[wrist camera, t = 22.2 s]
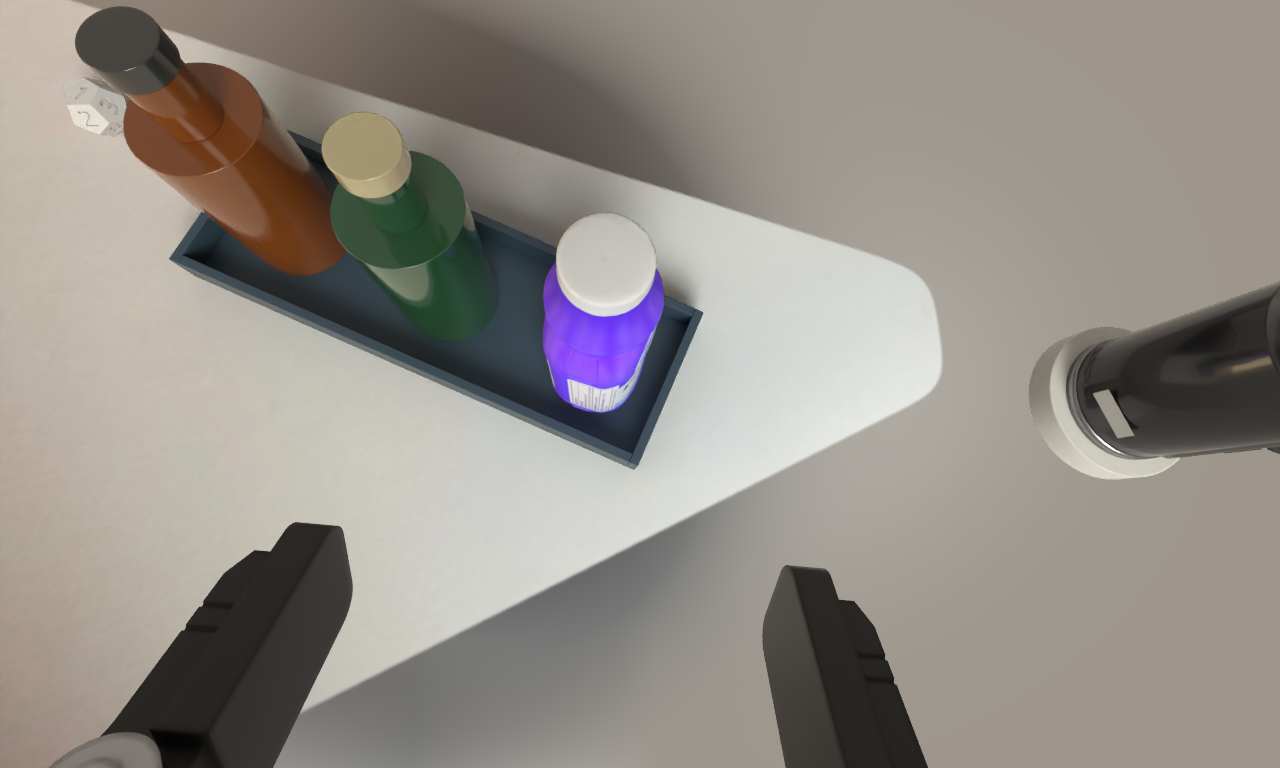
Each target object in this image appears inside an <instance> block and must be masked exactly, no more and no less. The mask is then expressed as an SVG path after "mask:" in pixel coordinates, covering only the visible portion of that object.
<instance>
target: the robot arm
mask: <svg viewBox="0 0 1280 768" xmlns="http://www.w3.org/2000/svg"><path fill="white" fill-rule="evenodd" d="M1066 395H1067V401H1068V405H1069V409H1070V412H1071V414H1072V416H1073V419H1074V421H1075V422H1076V424H1077V426H1078V427H1079V429H1080V430H1081V431H1082V433H1083V434H1084V435H1085V436H1086V437H1087V438H1088V439H1089V440H1090V441H1091V442H1092V443H1093V444H1094V445H1095V446H1097V447H1098V448H1100V449H1101V450H1103V451H1104V452H1106V453H1108V454H1110V455H1113V456H1115V457H1118V458H1122V459H1127V460H1143V459H1152V458H1157V457H1161V456H1162V457H1164V458H1166V459H1171V458H1180V457H1189V456H1198V455H1207V454H1216V453H1232V452H1241V451H1249V450H1259V449H1262V448H1267V449H1268V450H1270V451H1272V452H1275V453H1278V454H1280V282H1277V283H1274V284H1271V285H1269V286H1266V287H1263V288H1260V289H1257V290H1254V291H1251V292H1248V293H1246V294H1243V295H1240V296H1237V297H1234V298H1231V299H1228V300H1226V301H1223V302H1220V303H1217V304H1214V305H1211V306H1209V307H1206V308H1202V309H1200V310H1197V311H1194V312H1191V313H1188V314H1185V315H1182V316H1180V317H1177V318H1174V319H1171V320H1168V321H1165V322H1162V323H1159V324H1156V325H1153V326H1151V327H1148V328H1145V329H1142V330H1139V331H1136V332H1133V333H1130V334H1127V335H1125V336H1122V337H1119V338H1116V339H1111V340H1107V341H1104V342H1101V343H1098V344H1095V345H1093V346H1090V347H1088V348H1087V349H1085V350H1084V351H1083V352H1081V353H1080V354H1079V355H1078V356H1077V358H1076V359H1075V360H1074V362H1073V363H1072V365H1071V367H1070V370H1069V373H1068V376H1067V383H1066ZM352 590H353V584H352V577H351V572H350V566H349V560H348V555H347V549H346V544H345V538H344V533H343V530H342V528H341V527H339V526H332V525H321V524H310V523H299V522H295V523H292V524H291V525H290V526H288V527H287V529H286V530H285V531H284V533H283V534H282V536H281V537H280V539H279V540H278V541H277V543H276V544H275V546H274V547H273V549H272V550H271V552H268V551H257V550H254V551H253V552H252V553H250V554H249V555H248V556H246V557H245V558H244V559H242V560H241V561H240V562H238V563H237V564H236V565H234V566H233V567H232V568H230V569H229V570H228V571H226V572H225V573H224V574H223V575H222V577H221V578H220V580H219V581H218V582H217V584H216V585H215V586H214V588H213V589H212V590H211V592H210V593H209V594H208V596H207V597H206V598H205V600H204V601H203V602H204V603H203V606H202V607H199V608H198V609H197V610H196V612H195V613H194V614H193V616H192V617H191V619H190V620H189V621H188V623H187V624H186V628H185V630H184V631H181V632H180V633H179V635H178V636H177V637H176V639H175V640H174V641H173V643H172V644H171V645H170V647H169V648H168V649H167V651H166V652H165V653H164V655H163V656H162V657H161V659H160V660H159V662H158V663H157V664H156V666H155V667H154V668H153V670H152V671H151V672H150V674H149V675H148V676H147V678H146V679H145V680H144V682H143V683H142V684H141V686H140V687H139V688H138V690H137V691H136V692H135V694H134V695H133V696H132V698H131V699H130V701H129V702H128V703H127V705H126V706H125V707H124V709H123V710H122V711H121V713H120V714H119V715H118V717H117V718H116V719H115V721H114V722H113V723H112V724H111V725H110V727H109V728H108V729H107V730H106V731H105V732H104V733H103V734H102V735H101V736H100V737H99V738H96V739H93V740H91V741H88V742H86V743H84V744H82V745H80V746H78V747H77V748H75V749H73V750H72V751H70V752H68V753H67V754H65V755H64V756H63V757H61V758H60V759H59V760H57V761H56V762H54V763H53V764H52V765H51V766H50V767H49V768H273V766H274V764H275V762H276V760H277V758H278V756H279V754H280V752H281V750H282V748H283V746H284V744H285V742H286V740H287V738H288V735H289V734H290V731H291V729H292V727H293V725H294V723H295V721H296V719H297V717H298V715H299V713H300V711H301V709H302V707H303V705H304V703H305V701H306V699H307V697H308V695H309V693H310V690H311V688H312V686H313V684H314V682H315V680H316V678H317V676H318V674H319V672H320V670H321V668H322V666H323V664H324V662H325V660H326V658H327V656H328V654H329V652H330V649H331V647H332V645H333V643H334V641H335V639H336V637H337V635H338V633H339V631H340V629H341V627H342V625H343V623H344V621H345V619H346V616H347V613H348V611H349V607H350V603H351V598H352ZM763 650H764V656H765V662H766V667H767V672H768V677H769V682H770V687H771V693H772V698H773V703H774V709H775V714H776V719H777V724H778V729H779V735H780V740H781V745H782V750H783V756H784V761H785V766H786V768H928V766H927V764H926V761H925V759H924V756H923V753H922V751H921V748H920V745H919V743H918V740H917V737H916V735H915V732H914V729H913V727H912V724H911V722H910V719H909V716H908V714H907V711H906V708H905V706H904V703H903V700H902V698H901V695H900V693H899V690H898V687H897V685H895V684H894V677H893V674H892V671H891V669H890V666H889V664H888V661H886V660H885V653H884V650H883V648H882V645H881V642H880V640H879V637H878V635H877V632H876V629H875V627H874V625H873V624H872V623H871V622H870V621H869V619H868V618H867V617H866V615H865V614H864V613H863V612H862V611H861V609H860V608H859V607H858V605H857V604H856V603H855V602H854V601H846V600H839V599H838V596H837V593H836V590H835V587H834V584H833V581H832V578H831V576H830V574H829V572H828V571H827V570H826V569H821V568H810V567H800V566H789V565H786V566H784V567H783V569H782V570H781V573H780V576H779V578H778V581H777V584H776V587H775V590H774V592H773V595H772V598H771V601H770V603H769V606H768V609H767V612H766V614H765V618H764V623H763Z"/></svg>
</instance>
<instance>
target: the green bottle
mask: <svg viewBox="0 0 1280 768" xmlns="http://www.w3.org/2000/svg"><path fill="white" fill-rule="evenodd" d="M322 156H323V159H324V161H325V163H326V165H327V166H328V168H329V169H330V171H331V172H332V173H333V175H334V176H335V178H336V179H337V180H338V182H339V183H338V185H337V187H336V189H335V191H334V194H333V196H332V201H331V208H330V216H331V223H332V227H333V230H334V233H335V235H336V237H337V239H338V240H339V242H340V243H341V245H342V246H343V247H344V248H345V249H346V251H347V252H348V253H349V254H350V255H351V256H352V258H353V259H354V260H355V261H356V262H357V263H358V264H359V266H360V267H361V268H362V269H363V270H364V271H365V273H366V274H367V275H368V276H369V277H370V278H371V279H372V281H373V282H374V283H375V284H376V285H377V286H378V288H379V289H380V290H381V291H382V292H383V293H384V294H385V296H386V297H387V298H388V299H389V300H390V301H391V303H392V304H393V305H394V306H395V307H396V308H397V309H398V311H399V312H400V313H401V314H402V315H403V316H404V318H405V319H406V320H407V321H408V322H409V323H410V324H411V326H412V327H413V328H414V329H415V330H416V331H417V332H419V333H420V334H422V335H423V336H425V337H427V338H429V339H432V340H435V341H439V342H459V341H463V340H466V339H469V338H471V337H473V336H475V335H477V334H478V333H479V332H481V331H482V330H483V329H484V328H485V327H486V326H487V325H488V324H489V323H490V322H491V320H492V318H493V317H494V315H495V312H496V310H497V306H498V300H499V293H498V287H497V283H496V280H495V278H494V275H493V272H492V269H491V267H490V264H489V261H488V258H487V256H486V253H485V250H484V247H483V245H482V242H481V239H480V236H479V234H478V231H477V228H476V225H475V223H474V220H473V217H472V214H471V211H470V209H469V206H468V203H467V200H466V198H465V195H464V192H463V189H462V187H461V185H460V183H459V181H458V180H457V178H456V177H455V175H454V174H453V173H452V172H451V171H450V170H449V169H448V168H447V167H446V166H445V165H444V164H442V163H441V162H439V161H438V160H436V159H434V158H432V157H430V156H428V155H425V154H422V153H419V152H414V151H408V149H407V147H406V145H405V142H404V140H403V138H402V136H401V134H400V132H399V130H398V129H397V127H396V126H395V125H394V124H393V123H392V122H391V121H389V120H388V119H386V118H385V117H383V116H381V115H378V114H374V113H369V112H358V113H352V114H349V115H346V116H344V117H342V118H340V119H338V120H337V121H335V122H334V123H333V124H332V125H331V126H330V127H329V128H328V130H327V131H326V133H325V135H324V137H323V141H322Z"/></svg>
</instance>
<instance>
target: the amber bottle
mask: <svg viewBox="0 0 1280 768" xmlns="http://www.w3.org/2000/svg"><path fill="white" fill-rule="evenodd" d="M75 47H76V50H77V53H78V55H79V57H80V58H81V60H82V61H83V62H84V63H85V64H86V65H87V66H89V67H90V68H91V69H92V70H93V71H94V72H95V73H96V74H97V75H98V76H99V77H100V78H102V79H103V80H104V81H105V82H106V83H107V84H108V85H109V86H110V87H112V88H113V89H115V90H117V91H119V92H122V93H125V94H126V95H127V96H128V97H129V98H130V101H129V103H128V105H127V107H126V110H125V113H124V120H123V130H124V136H125V139H126V142H127V144H128V146H129V148H130V150H131V151H132V153H133V154H134V155H135V156H136V157H137V158H138V159H139V160H140V161H141V162H142V163H143V164H144V165H145V166H147V167H148V168H149V169H150V170H152V171H153V172H154V173H155V174H156V175H158V176H159V177H160V178H161V179H163V180H164V181H165V182H166V183H167V184H169V185H170V186H171V187H172V188H174V189H175V190H176V191H177V192H178V193H180V194H181V195H182V196H183V197H185V198H186V199H187V200H188V201H189V202H191V203H192V204H193V205H194V206H195V207H197V208H198V209H199V210H200V211H202V212H203V213H204V214H205V215H206V216H208V217H209V218H210V219H211V220H213V221H214V222H215V223H216V224H217V225H219V226H220V227H221V228H222V229H224V230H225V231H226V232H227V233H228V234H230V235H231V236H232V237H233V238H235V239H236V240H237V241H238V242H239V243H241V244H242V245H243V246H244V247H246V248H247V249H248V250H249V251H250V252H252V253H253V254H254V255H255V256H257V257H258V258H259V259H260V260H261V261H263V262H264V263H265V264H266V265H267V266H269V267H270V268H272V269H273V270H275V271H277V272H280V273H282V274H286V275H290V276H308V275H313V274H317V273H320V272H322V271H324V270H326V269H328V268H330V267H331V266H333V265H334V264H335V263H337V262H338V261H339V260H340V259H341V258H342V256H343V255H344V254H345V252H346V249H345V248H344V247H343V246H342V245H341V243H340V242H339V240H338V239H337V237H336V235H335V233H334V230H333V227H332V223H331V216H330V208H331V201H332V196H333V194H334V193H333V191H332V190H331V189H330V187H329V186H328V185H327V183H326V182H325V181H324V179H323V178H322V177H321V175H320V174H319V173H318V171H317V170H316V169H315V167H314V166H313V165H312V163H311V162H310V161H309V159H308V158H307V157H306V155H305V154H304V153H303V151H302V150H301V149H300V147H299V146H298V145H297V143H296V142H295V141H294V139H293V138H292V137H291V136H290V134H289V133H288V132H287V130H286V129H285V128H284V126H283V125H282V124H281V122H280V121H279V120H278V118H277V117H276V116H275V114H274V113H273V112H272V110H271V109H270V108H269V106H268V105H267V104H266V102H265V101H264V100H263V98H262V97H261V96H260V94H259V93H258V92H257V90H256V89H255V88H254V87H253V85H252V84H251V83H250V82H249V81H248V80H247V79H246V78H245V77H243V76H242V75H240V74H239V73H237V72H235V71H233V70H231V69H229V68H226V67H224V66H220V65H216V64H211V63H187V64H185V63H184V62H183V60H182V59H181V58H180V54H179V51H178V49H177V47H176V45H175V44H174V43H173V42H172V40H171V39H170V38H169V37H168V36H167V35H166V33H165V32H164V31H163V30H162V29H161V28H160V26H159V25H158V24H157V23H156V22H155V21H154V19H153V18H152V17H151V16H149V15H148V14H146V13H145V12H143V11H141V10H139V9H136V8H132V7H125V6H118V7H110V8H107V9H103V10H100V11H98V12H96V13H94V14H93V15H91V16H90V17H88V18H87V19H86V20H85V21H84V22H83V23H82V25H81V26H80V27H79V29H78V31H77V34H76V38H75Z"/></svg>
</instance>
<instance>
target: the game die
mask: <svg viewBox="0 0 1280 768" xmlns="http://www.w3.org/2000/svg"><path fill="white" fill-rule="evenodd" d="M63 89H64V93H65V97H66V101H67V104H68V108H69V111H70V114H71V117H72V120H73V123H74V124H75V125H77V126H80V127H82V128H84V129H87V130H89V131H91V132H94V133H96V134H98V135H104V136H115V135H117V134H118V133H120V132H122V131H124V130H123V120H124V113H125V110H126V103H125V99H124V96H123V93H122V92H119V91H117V90H115V89H113V88H112V87H110V86H108V85H106V84H104V83H102V82H100V81H98V80H94V79H89V78H84V77H82V78H80V79H78V80H77V81H75V82H73V83H71V84H69V85H67V86H65V87H64V88H63Z"/></svg>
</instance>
